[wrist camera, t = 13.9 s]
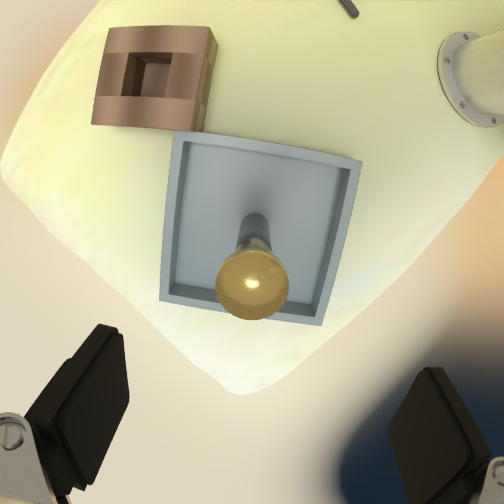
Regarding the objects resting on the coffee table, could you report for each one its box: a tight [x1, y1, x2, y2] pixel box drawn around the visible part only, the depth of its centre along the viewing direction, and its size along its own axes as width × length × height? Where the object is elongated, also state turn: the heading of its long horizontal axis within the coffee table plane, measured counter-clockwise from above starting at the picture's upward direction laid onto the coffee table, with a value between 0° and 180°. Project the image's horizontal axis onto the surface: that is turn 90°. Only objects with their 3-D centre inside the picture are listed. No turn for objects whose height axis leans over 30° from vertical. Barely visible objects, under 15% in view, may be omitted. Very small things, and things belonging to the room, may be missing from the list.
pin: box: [215, 213, 289, 320], centre depth 27 cm, size 5×5×15 cm
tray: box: [159, 130, 362, 326], centre depth 33 cm, size 18×18×4 cm
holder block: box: [91, 25, 218, 133], centre depth 27 cm, size 10×10×6 cm
